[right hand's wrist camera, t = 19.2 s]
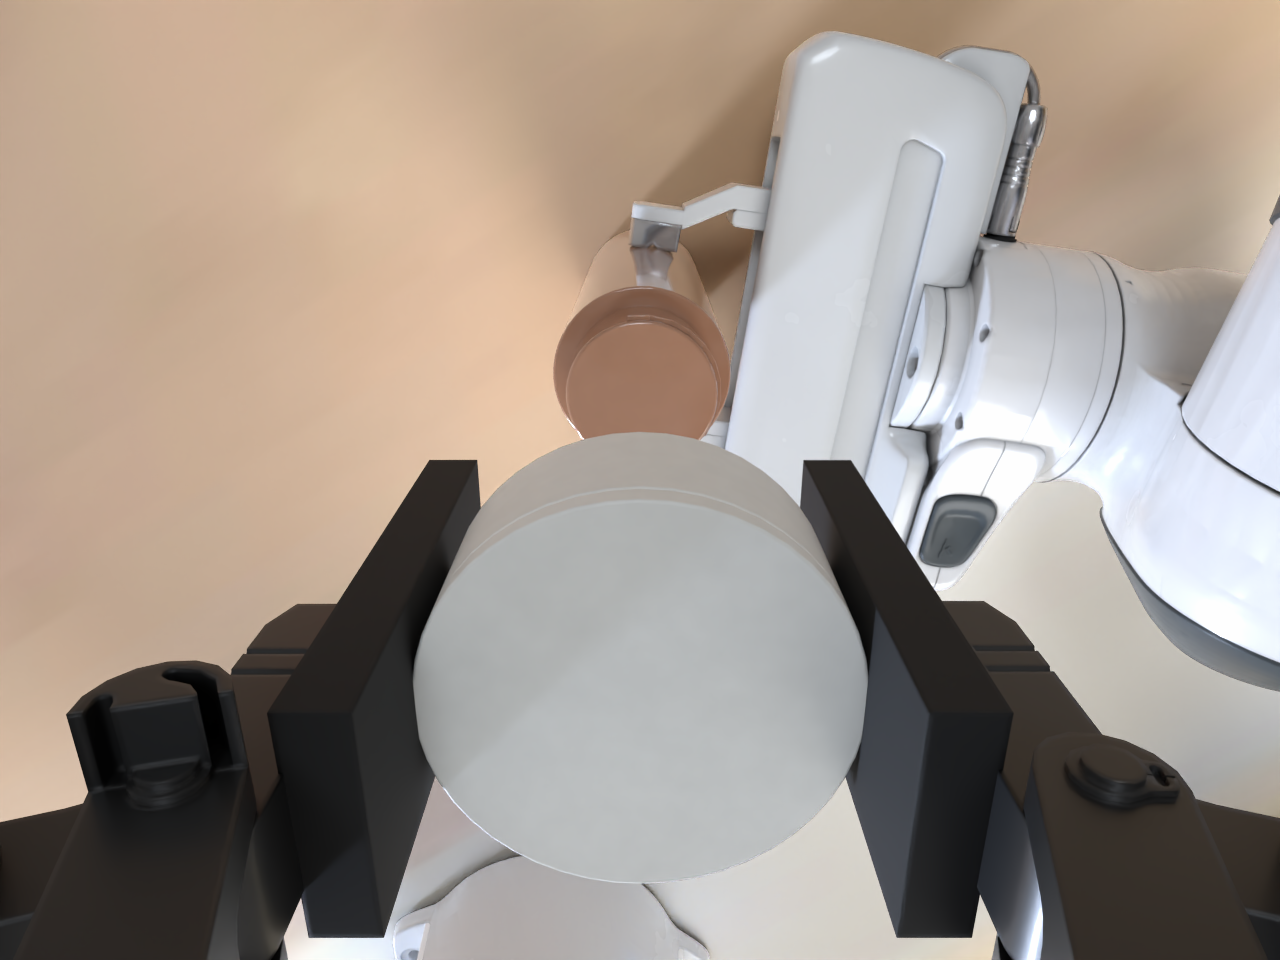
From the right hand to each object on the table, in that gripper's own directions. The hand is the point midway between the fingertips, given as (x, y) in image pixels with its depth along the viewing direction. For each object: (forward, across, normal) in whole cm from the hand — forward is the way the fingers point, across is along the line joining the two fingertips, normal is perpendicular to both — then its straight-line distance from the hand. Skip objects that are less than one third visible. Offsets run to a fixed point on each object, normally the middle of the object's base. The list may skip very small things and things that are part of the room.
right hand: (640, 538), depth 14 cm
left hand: (+20, -1, 0) cm, 20 cm away
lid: (-4, 0, 0) cm, 4 cm away
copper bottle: (+26, 0, 0) cm, 26 cm away
